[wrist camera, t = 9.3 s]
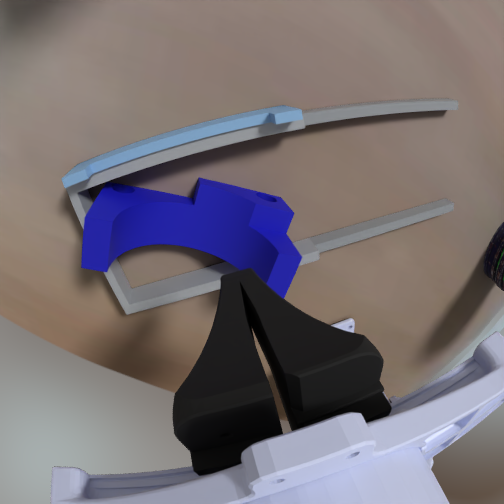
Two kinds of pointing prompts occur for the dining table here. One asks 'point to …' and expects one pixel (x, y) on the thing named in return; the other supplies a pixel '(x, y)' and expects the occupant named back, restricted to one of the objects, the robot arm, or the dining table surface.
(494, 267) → the storage jar
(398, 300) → the dining table surface
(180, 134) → the light blue long bar
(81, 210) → the grey u-shaped frame
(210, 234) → the blue arched bracket
